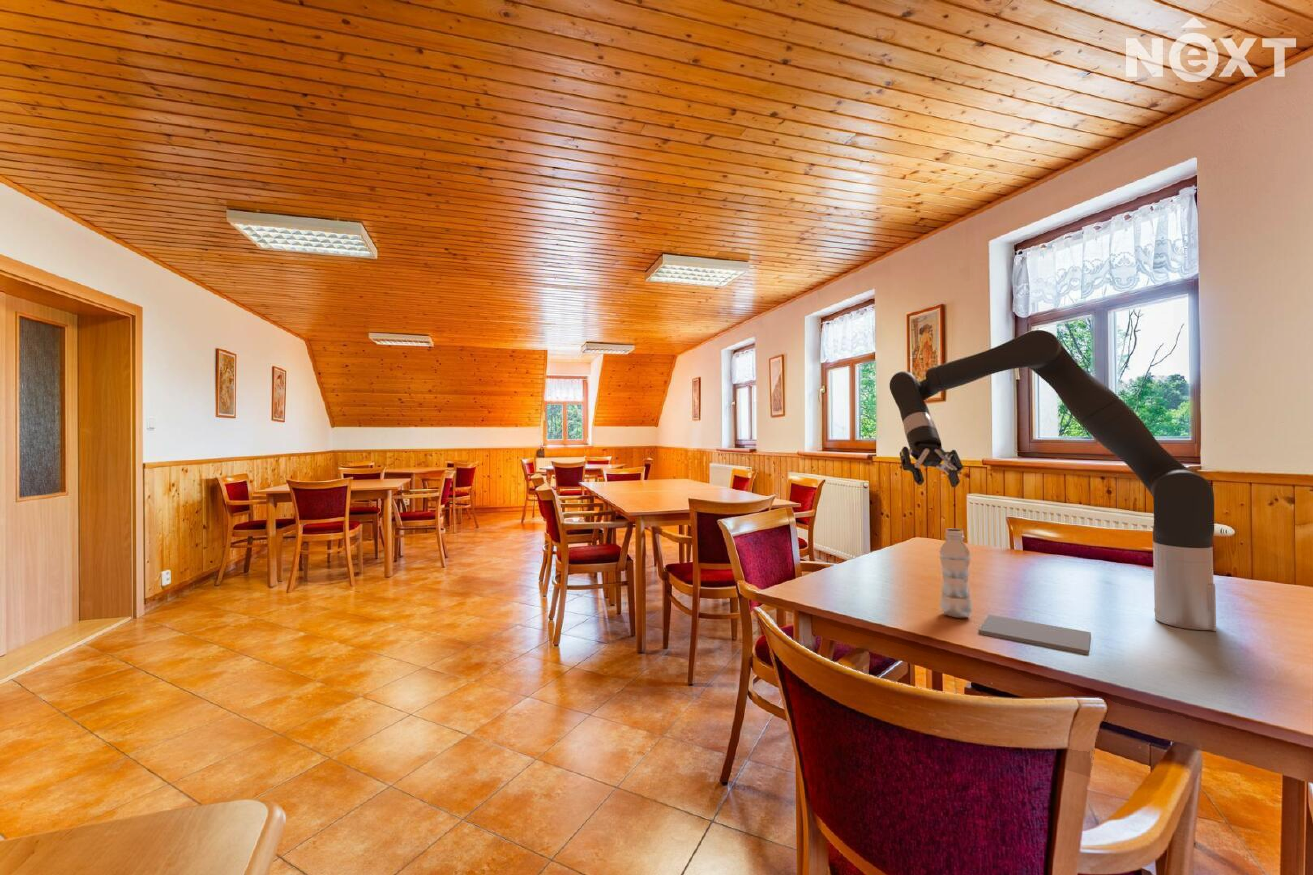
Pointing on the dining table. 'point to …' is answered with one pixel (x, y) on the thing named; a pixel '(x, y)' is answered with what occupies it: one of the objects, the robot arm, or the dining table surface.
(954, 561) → the plastic bottle
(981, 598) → the dining table surface
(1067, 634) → the grey rubber mat
